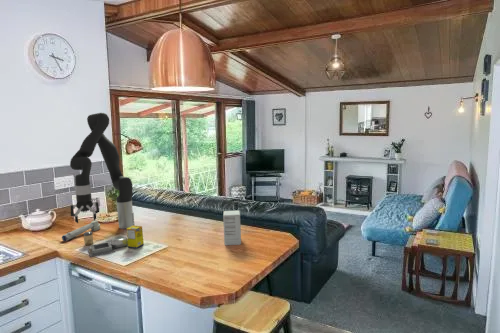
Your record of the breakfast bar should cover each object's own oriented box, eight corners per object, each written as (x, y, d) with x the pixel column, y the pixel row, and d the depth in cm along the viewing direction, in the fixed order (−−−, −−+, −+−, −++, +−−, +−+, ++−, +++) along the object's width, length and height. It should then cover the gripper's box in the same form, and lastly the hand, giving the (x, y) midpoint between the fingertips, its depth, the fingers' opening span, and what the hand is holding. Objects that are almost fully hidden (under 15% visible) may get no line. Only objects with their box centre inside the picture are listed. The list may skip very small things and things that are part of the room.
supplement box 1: (143, 244, 186) (142, 225, 184) (137, 248, 180) (135, 229, 179) (135, 243, 188) (133, 225, 186) (127, 247, 182) (126, 228, 181)
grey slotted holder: (125, 242, 191) (124, 234, 190) (129, 248, 180) (128, 241, 180) (88, 249, 181) (87, 241, 181) (90, 257, 171) (89, 248, 170)
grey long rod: (60, 234, 196) (94, 217, 218) (62, 245, 198) (97, 226, 219) (66, 235, 194) (100, 218, 215) (68, 246, 195) (102, 227, 217)
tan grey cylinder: (93, 242, 192) (91, 231, 191) (93, 245, 188) (92, 233, 187) (84, 244, 189) (83, 232, 188) (85, 246, 186) (83, 234, 185)
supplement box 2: (241, 244, 181) (240, 214, 179) (224, 245, 181) (223, 215, 178) (240, 238, 191) (239, 209, 188) (224, 239, 190) (223, 210, 188)
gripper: (96, 190, 191) (99, 217, 193) (68, 193, 184) (71, 221, 186) (98, 192, 185) (100, 221, 187) (69, 195, 178) (71, 225, 180)
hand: (86, 221), depth 187 cm, fingers open, 8 cm apart
